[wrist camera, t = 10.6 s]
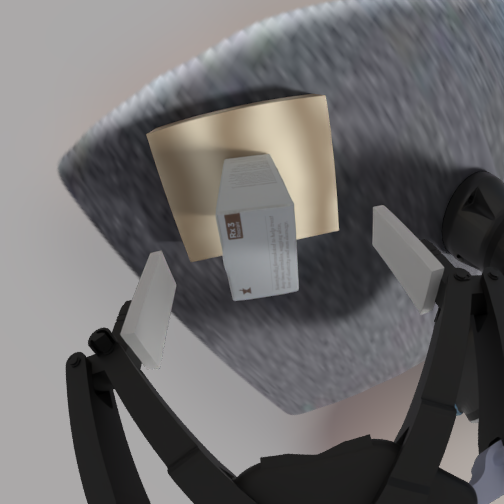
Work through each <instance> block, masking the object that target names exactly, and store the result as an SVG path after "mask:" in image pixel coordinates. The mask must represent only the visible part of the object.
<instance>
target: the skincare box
mask: <svg viewBox="0 0 504 504" xmlns="http://www.w3.org/2000/svg"><path fill="white" fill-rule="evenodd" d="M215 216H216V221H217V227H218V232H219V237H220V242H221V247H222V252H223V263H224V267H225V270H226V273H227V276H228V281H229V286H230V290H231V294H232V298H233V300H234V301H240V300H248V299H255V298H262V297H268V296H275V295H281V294H286V293H290V292H295V291H298V290H299V282H298V261H297V240H296V224H295V211H294V203H293V201H292V199H291V197H290V195H289V193H288V190H287V188H286V185H285V183H284V181H283V179H282V177H281V175H280V173H279V171H278V169H277V167H276V165H275V163H274V161H273V159H272V157H271V156H270V154H263V155H253V156H246V157H238V158H229V159H225V160H224V164H223V169H222V175H221V181H220V187H219V193H218V199H217V206H216V214H215Z"/></svg>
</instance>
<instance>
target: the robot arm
mask: <svg viewBox="0 0 504 504" xmlns="http://www.w3.org/2000/svg"><path fill="white" fill-rule="evenodd" d="M442 235H443V242H444V245H445V247H446V249H447V250H448V251H449V252H450V253H451V254H452V255H453V256H454V257H455V258H456V259H457V260H458V261H460V262H463V263H465V264H467V265H469V266H471V267H473V268H475V269H477V270H480V271H482V272H483V273H482V275H477V276H471V275H470V273H469V272H468V271H466V270H464V269H462V268H455V267H454V266H453V265H452V264H451V263H450V262H449V261H448V260H447V258H446V257H445V256H444V255H443V254H441V252H440V251H439V250H437V248H436V247H435V246H434V245H433V244H432V243H431V242H429V241H427V240H425V239H423V240H419V239H418V238H417V237H416V236H415V235H414V234H413V233H412V232H411V231H410V230H409V229H408V228H407V227H406V226H405V225H404V224H403V223H402V222H401V221H400V220H399V219H398V218H397V217H396V216H395V215H394V214H393V213H392V212H391V211H390V210H388V209H387V208H386V207H385V206H384V205H381V206H375V207H373V237H372V245H373V246H374V248H375V249H376V250H377V252H378V253H379V254H380V256H381V257H382V259H383V260H384V261H385V263H386V264H387V266H388V267H389V268H390V270H391V271H392V273H393V274H394V275H395V277H396V278H397V280H398V281H399V283H400V284H401V286H402V287H403V289H404V290H405V292H406V293H407V295H408V296H409V298H410V299H411V301H412V302H413V304H414V305H415V307H416V308H417V310H418V311H419V313H420V315H422V314H425V313H427V312H430V311H433V308H434V304H435V302H436V304H437V305H438V307H439V308H438V311H437V314H436V317H435V320H434V322H435V325H434V330H433V334H432V338H431V342H430V346H429V350H428V353H427V357H426V360H425V364H424V367H423V371H422V374H421V377H420V380H419V383H418V386H417V389H416V392H415V395H414V398H413V400H412V403H411V405H410V408H409V411H408V413H407V416H406V418H405V421H404V423H403V425H402V427H401V429H400V431H399V433H398V435H397V437H396V439H395V441H394V442H392V441H388V440H383V439H371V437H370V435H366V436H362V437H359V438H356V439H353V440H349V441H345V442H343V443H341V444H339V445H337V446H335V447H333V448H331V449H329V450H327V451H325V452H323V453H320V454H318V455H300V454H299V455H298V454H283V455H278V456H269V457H263V458H262V457H261V458H260V460H261V463H258V464H256V465H254V466H252V467H250V468H248V469H246V470H245V471H244V472H242V473H241V474H240V475H239V476H238V477H236V476H235V475H234V474H233V473H232V472H231V471H230V470H228V469H227V468H226V467H225V466H224V465H223V464H221V463H220V462H219V461H218V460H217V459H216V458H215V457H214V456H213V455H212V454H211V453H210V452H209V451H208V450H207V449H206V448H205V447H204V446H203V444H202V443H201V442H200V441H199V440H198V439H197V438H196V437H195V436H194V435H193V434H192V433H191V432H190V431H189V429H188V428H187V427H186V426H185V425H184V424H183V423H182V421H181V420H180V419H179V418H178V417H177V416H176V414H175V413H174V412H173V411H172V410H171V408H170V407H169V406H168V405H167V403H166V402H165V401H164V400H163V398H162V397H161V396H160V395H159V393H158V392H157V391H156V389H155V388H154V387H153V386H152V384H151V383H150V382H149V380H148V379H147V378H146V376H145V375H144V373H143V372H142V371H141V370H140V368H141V364H143V365H144V367H145V368H146V369H160V367H161V361H162V355H163V349H164V344H165V339H166V333H167V328H168V323H169V318H170V313H171V309H172V304H173V299H174V295H175V290H176V286H177V285H176V282H175V280H174V278H173V276H172V274H171V271H170V269H169V267H168V265H167V262H166V260H165V258H164V255H163V253H162V251H157V252H153V253H150V255H149V258H148V260H147V263H146V265H145V268H144V270H143V273H142V275H141V278H140V280H139V283H138V286H137V288H136V291H135V294H134V296H133V299H132V300H130V301H126V302H125V304H124V305H123V306H122V308H121V310H120V312H119V316H118V317H117V322H116V323H115V326H114V329H113V331H112V333H111V331H110V330H109V329H108V328H100V329H98V330H96V331H95V332H94V333H92V335H91V336H90V338H89V340H88V345H89V347H90V348H91V349H92V350H93V351H94V353H95V354H94V355H92V356H89V357H86V356H85V355H84V354H83V353H82V352H77V353H74V354H73V355H71V356H70V357H69V358H68V360H67V362H66V383H67V397H68V408H69V416H70V425H71V432H72V438H73V444H74V449H75V455H76V459H77V464H78V469H79V473H80V477H81V481H82V484H83V489H84V492H85V496H86V499H87V503H88V504H150V501H149V499H148V496H147V494H146V492H145V489H144V487H143V484H142V482H141V479H140V477H139V474H138V472H137V469H136V466H135V464H134V461H133V458H132V455H131V452H130V449H129V446H128V443H127V440H126V437H125V433H124V430H123V427H122V423H121V420H120V416H119V412H118V408H117V405H116V400H115V396H114V392H113V389H115V390H116V392H117V393H118V395H119V397H120V399H121V400H122V402H123V404H124V405H125V407H126V409H127V410H128V412H129V413H130V415H131V416H132V418H133V420H134V421H135V423H136V424H137V426H138V427H139V429H140V430H141V432H142V433H143V435H144V436H145V438H146V439H147V440H148V442H149V443H150V445H151V446H152V447H153V449H154V450H155V451H156V453H157V454H158V456H159V457H160V458H161V459H162V461H163V462H164V463H165V465H166V466H167V468H168V470H167V471H168V474H169V475H170V476H171V478H172V479H173V480H174V482H175V483H176V484H177V485H178V486H179V487H180V488H181V490H182V491H183V492H184V493H185V494H186V495H187V496H188V498H189V499H190V500H191V501H192V502H193V503H194V504H489V503H491V502H492V501H494V500H496V499H497V498H499V497H500V496H502V495H504V183H503V182H502V181H501V180H500V179H499V178H497V177H496V176H494V175H492V174H491V173H489V172H484V171H482V172H477V173H475V174H473V175H471V176H469V177H468V178H467V179H466V180H465V181H464V182H463V183H462V184H461V185H460V186H459V187H458V189H457V190H456V192H455V193H454V195H453V197H452V199H451V201H450V203H449V205H448V207H447V210H446V213H445V217H444V221H443V229H442ZM463 412H464V413H465V415H466V416H467V418H468V420H469V421H470V422H471V423H479V426H478V447H479V455H478V456H477V458H476V460H475V462H474V465H473V467H472V471H471V472H472V478H471V480H470V482H469V483H468V482H466V481H464V480H462V479H460V478H458V477H456V476H454V475H452V474H450V473H448V472H447V471H444V470H443V469H441V468H439V465H440V462H441V460H442V457H443V455H444V452H445V449H446V446H447V443H448V441H449V438H450V435H451V431H452V428H453V425H454V421H455V418H456V416H457V415H461V414H462V413H463Z"/></svg>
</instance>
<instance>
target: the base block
mask: <svg viewBox="0 0 504 504" xmlns="http://www.w3.org/2000/svg"><path fill="white" fill-rule="evenodd" d="M146 135H147V138H148V142H149V145H150V148H151V151H152V154H153V158H154V161H155V164H156V167H157V170H158V173H159V176H160V179H161V182H162V185H163V188H164V191H165V194H166V196H167V199H168V202H169V205H170V208H171V211H172V213H173V216H174V219H175V222H176V224H177V227H178V230H179V233H180V235H181V238H182V241H183V243H184V246H185V248H186V251H187V254H188V256H189V259H190V261H191V262H194V261H199V260H204V259H208V258H213V257H218V256H222V255H223V252H222V247H221V242H220V237H219V232H218V227H217V221H216V216H215V214H216V206H217V199H218V193H219V187H220V181H221V175H222V169H223V164H224V160H225V159H229V158H238V157H246V156H253V155H263V154H270V156H271V157H272V159H273V161H274V163H275V165H276V167H277V169H278V171H279V173H280V175H281V177H282V179H283V181H284V183H285V185H286V188H287V190H288V193H289V195H290V197H291V199H292V201H293V203H294V211H295V224H296V240H297V239H301V238H306V237H311V236H316V235H320V234H325V233H330V232H334V231H339V223H338V205H337V191H336V178H335V167H334V157H333V148H332V139H331V131H330V123H329V116H328V109H327V102H326V96H325V95H318V94H307V95H299V96H292V97H285V98H278V99H272V100H266V101H261V102H255V103H250V104H245V105H240V106H235V107H231V108H226V109H222V110H218V111H214V112H210V113H206V114H202V115H198V116H194V117H191V118H187V119H184V120H180V121H177V122H174V123H170V124H167V125H164V126H161V127H158V128H156V129H154V130H152V131H151V132H149V133H148V134H146Z"/></svg>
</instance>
